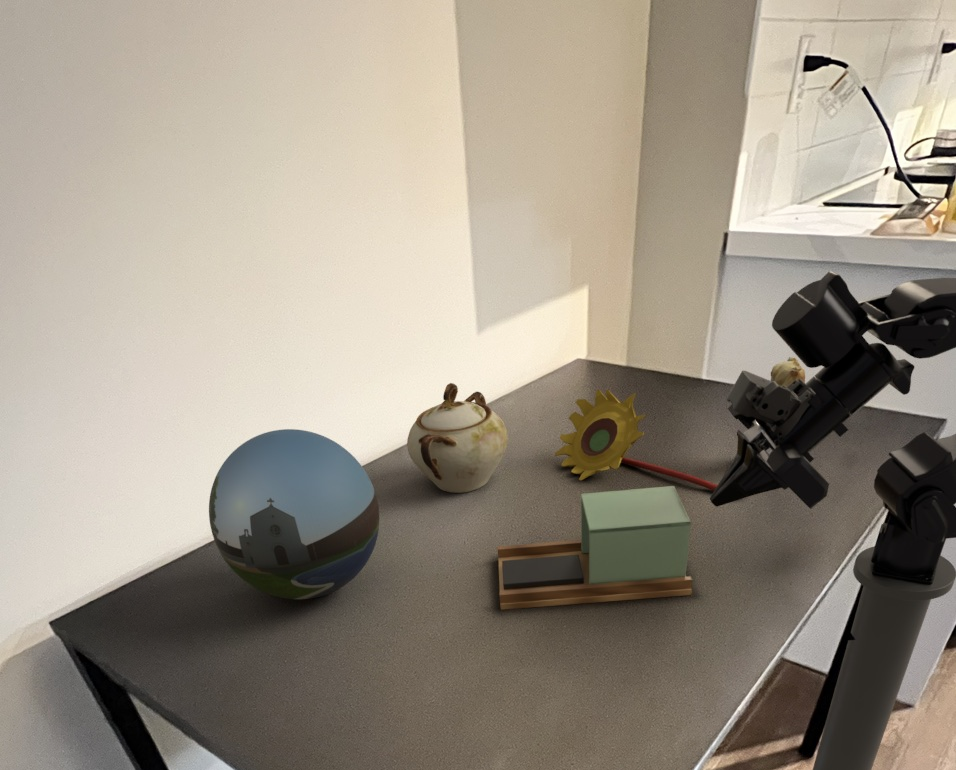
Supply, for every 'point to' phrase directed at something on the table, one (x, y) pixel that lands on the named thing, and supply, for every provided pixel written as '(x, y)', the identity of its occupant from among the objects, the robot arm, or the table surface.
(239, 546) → the decorative sphere
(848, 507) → the table surface
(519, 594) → the dock
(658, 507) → the cover
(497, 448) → the sugar bowl
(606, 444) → the decorative flower
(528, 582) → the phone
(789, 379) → the figurine
